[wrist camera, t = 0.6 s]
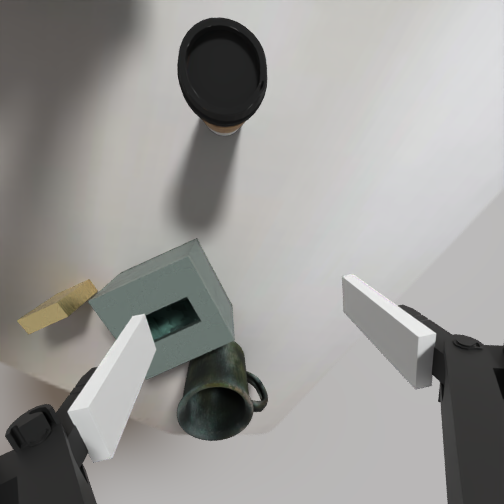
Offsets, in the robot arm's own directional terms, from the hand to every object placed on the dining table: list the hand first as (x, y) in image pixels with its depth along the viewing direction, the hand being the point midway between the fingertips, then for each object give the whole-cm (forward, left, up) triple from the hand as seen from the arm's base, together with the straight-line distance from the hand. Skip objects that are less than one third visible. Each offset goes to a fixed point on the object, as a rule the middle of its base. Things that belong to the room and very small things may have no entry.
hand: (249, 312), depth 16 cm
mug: (+22, -12, -26) cm, 36 cm away
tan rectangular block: (-2, -28, -26) cm, 38 cm away
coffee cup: (-17, +6, -26) cm, 31 cm away
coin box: (+5, -13, -26) cm, 29 cm away
